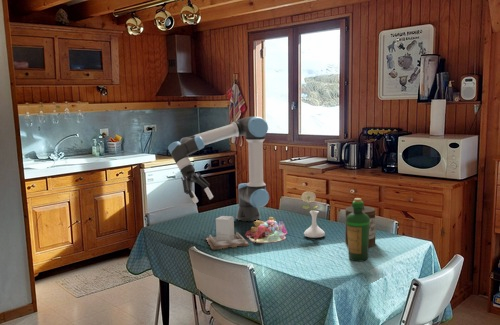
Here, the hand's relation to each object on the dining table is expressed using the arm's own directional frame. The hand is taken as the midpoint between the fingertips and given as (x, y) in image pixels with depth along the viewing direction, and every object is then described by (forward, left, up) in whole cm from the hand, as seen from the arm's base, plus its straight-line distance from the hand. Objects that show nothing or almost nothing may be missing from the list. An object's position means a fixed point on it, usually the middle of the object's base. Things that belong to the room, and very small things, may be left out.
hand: (204, 200), depth 256 cm
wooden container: (-72, +41, -21) cm, 85 cm away
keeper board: (-9, +14, -21) cm, 26 cm away
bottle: (-60, +61, -21) cm, 88 cm away
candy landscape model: (-32, +9, -21) cm, 40 cm away
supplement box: (-8, +14, -20) cm, 26 cm away
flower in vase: (-55, +20, -21) cm, 62 cm away
